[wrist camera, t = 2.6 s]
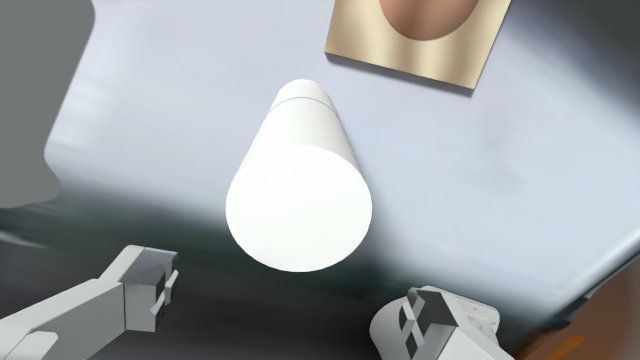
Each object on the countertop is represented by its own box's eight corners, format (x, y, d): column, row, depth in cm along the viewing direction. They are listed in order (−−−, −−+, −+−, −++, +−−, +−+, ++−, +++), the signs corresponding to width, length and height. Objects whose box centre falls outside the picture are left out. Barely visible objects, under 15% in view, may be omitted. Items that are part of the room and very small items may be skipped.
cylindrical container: (323, 71, 36) (353, 125, 13) (338, 128, 39) (384, 252, 16) (265, 89, 37) (200, 170, 14) (284, 144, 40) (257, 285, 17)
